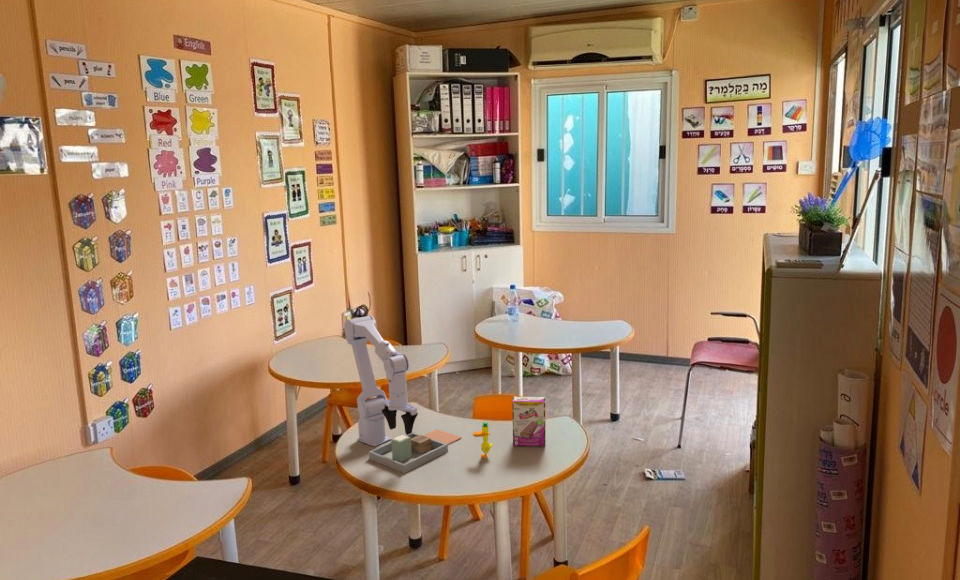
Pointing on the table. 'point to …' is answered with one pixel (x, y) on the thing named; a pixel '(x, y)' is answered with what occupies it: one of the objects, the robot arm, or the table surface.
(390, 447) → the parts bin
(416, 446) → the walnut block
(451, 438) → the mat
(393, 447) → the labelled box
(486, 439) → the toy figure
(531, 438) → the candy bar box
